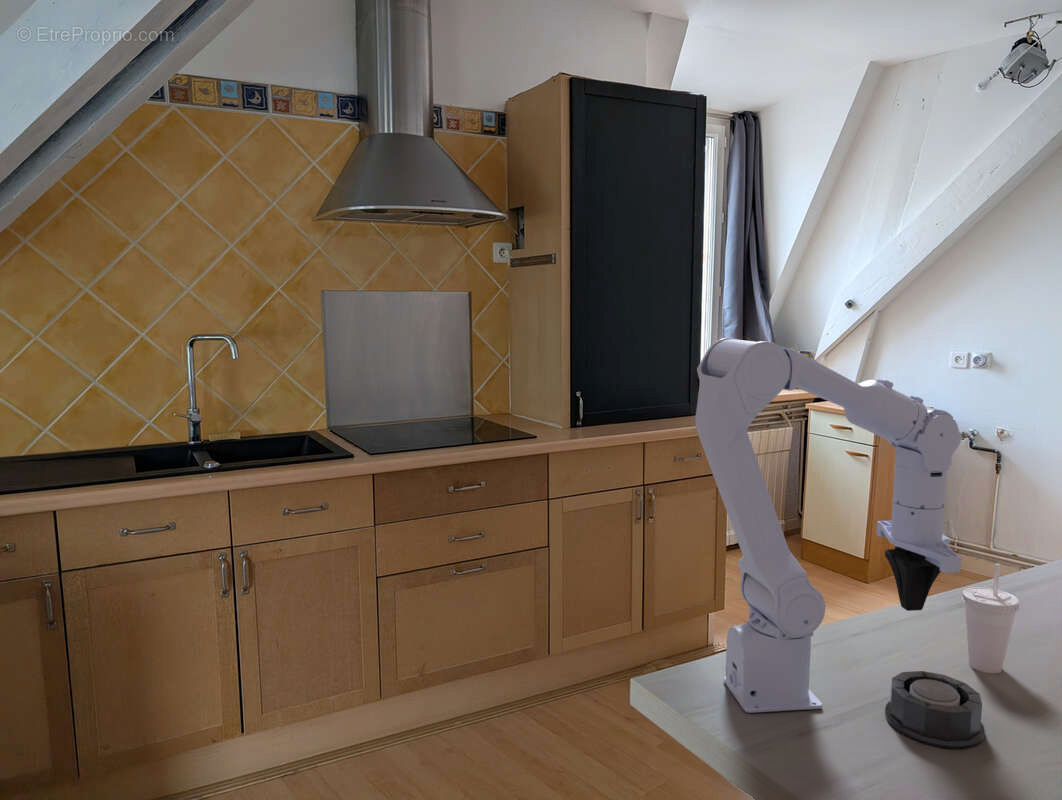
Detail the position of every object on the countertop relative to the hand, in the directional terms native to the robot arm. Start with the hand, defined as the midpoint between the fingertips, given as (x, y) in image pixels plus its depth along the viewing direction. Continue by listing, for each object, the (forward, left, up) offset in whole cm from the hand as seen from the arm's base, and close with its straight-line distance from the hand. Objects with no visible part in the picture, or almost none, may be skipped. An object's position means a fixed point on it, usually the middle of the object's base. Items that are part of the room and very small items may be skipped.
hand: (911, 608), depth 95 cm
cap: (-3, -10, -9) cm, 14 cm away
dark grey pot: (-3, -10, -9) cm, 14 cm away
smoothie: (+12, +2, -10) cm, 15 cm away
